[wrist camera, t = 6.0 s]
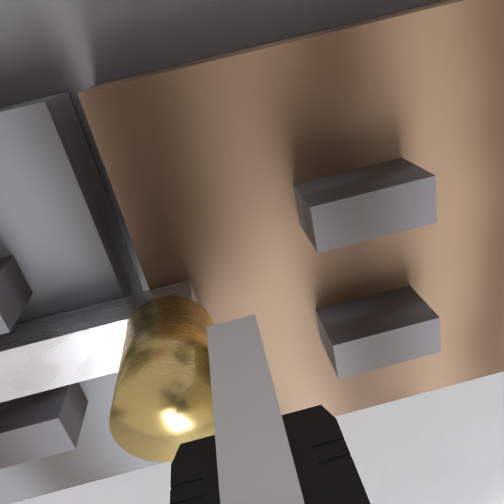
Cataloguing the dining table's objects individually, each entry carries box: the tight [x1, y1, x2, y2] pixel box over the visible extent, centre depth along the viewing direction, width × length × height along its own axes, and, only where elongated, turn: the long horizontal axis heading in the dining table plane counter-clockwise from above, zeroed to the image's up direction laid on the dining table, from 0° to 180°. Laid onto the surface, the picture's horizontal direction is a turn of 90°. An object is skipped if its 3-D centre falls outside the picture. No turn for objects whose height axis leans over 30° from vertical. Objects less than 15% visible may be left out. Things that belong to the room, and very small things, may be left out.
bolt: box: [0, 280, 215, 462], centre depth 14 cm, size 8×3×6 cm, turn 102°
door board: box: [0, 0, 504, 504], centre depth 18 cm, size 27×16×5 cm, turn 102°
